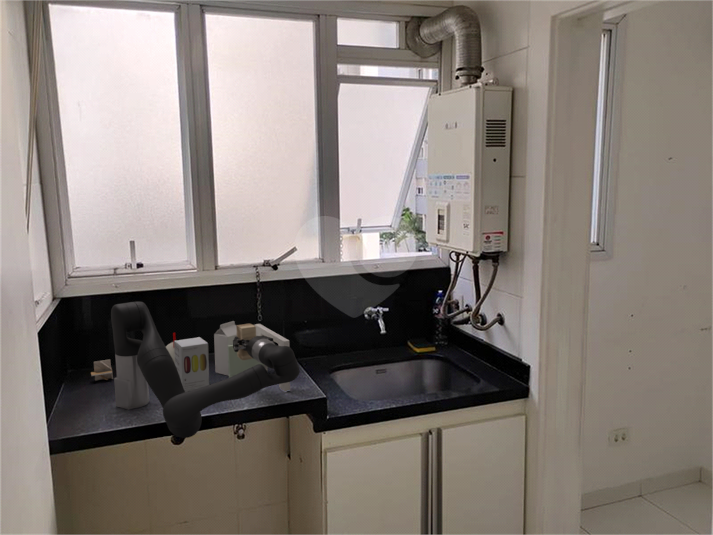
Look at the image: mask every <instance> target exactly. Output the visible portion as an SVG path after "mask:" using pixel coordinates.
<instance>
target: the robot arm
mask: <svg viewBox="0 0 713 535" xmlns="http://www.w3.org/2000/svg"><path fill="white" fill-rule="evenodd" d="M110 319H111V327H112V337H113V345H114V356H115V370H116V371H115V372H116V377H113V380H114V381H113V383H114V397H115V407H118V408H121V409H125V410H132V409H137V408H141V407H144V406H146V405H148V404H149V403H150V393H149V392H150V390H151V391H152V392H153V394H154V395H155V397H156V398H157V400H158V401H159V403H160V405H161V408H162V416H163V418H164V421H165V423H166V425H167V428H168V430H169V431H170V432H171V433H172V434H173V436H176V437H177V438H181V439H188V438H191V437H193V436H196V434H197V433H198V432H199V430H200V428H201V426H202V421H203V420H202V418H203V417H202V413H201V412H202V411H203V410H205V409H206V408H208V407H211V406H213V405H215V404H218V403H222V402H227V401H234V400H235V401H236V400H241V399H244V398H247V397H249V396H252V395H254V394H256V393H257V392H260V391H262V390H264V389H266V388H269V387H273V386H276V385H279V384H282V383H287V382H290V383H291V382H293V381H295V380H296V379H297V378H298V377H299V375H300V372H301V369H300V367H299V363H298V360H297V358H296V356H295V353H294V351H293V350H294V349H292V347H290V345H289V346H278V345H277V344H275V342H274V341H273V338H270V337H267V336H264V335H263V336H256V337H254V338H252V339H245V338H244V339H240V338H239V337H235V338H234V340H233V349H234V351H235V352H238V351H239V350H240V349H243V350H244V351H247V352H248V354H249V355H250V356H251V357H252V358H254V359H255V360H256V361H258V362H260V363H262V364H264V365H265V366H267V367H268V368H269V369H272V370H273V371H274V372H273V373H269V372H267V370H266V369H265V367H264V366H263V365H261V364H258V365H255V366H253V367H251V368H249V369H247V370H245V371H243V372H241V373H239V374H237V375H234V376H232V377H230V378H229V377H228V378H225V379H222V380H219V381H217V382H213V383H211V384H210V383H209V385H207V386H204V387H201V388H198V389H194V390H191V391H188V392H185V390H184V388H183V385H182V382H181V379H180V376H179V373H178V370H177V368H176V365H175V363H174V361H173V359H172V357H171V355H170V353H169V351H168V350H167V348H166V346H167V345H165V342H164V341H163V340H162V337H161V335H160V333H159V332H158V330H157V326H156V325H155V322H154V319H153V317H152V315H151V313H150V310H149V308H148V306H147V305H146V303H145V302H143V301H130V302H123V303H117V304H114V305H112V308H111V310H110ZM136 331H140V332H142V334H143V336H142V339H136V338H132V337H128V334H127V333H131V332H136ZM149 388H150V390H149Z"/></svg>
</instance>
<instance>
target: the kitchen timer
mask: <svg viewBox="0 0 713 535" xmlns="http://www.w3.org/2000/svg"><path fill="white" fill-rule="evenodd" d="M172 339H173V340H172V341H171V342H170V343H168V344H167V345H165V346H166V348H167V350H168V351H169V353H170V355H171V357H172V359H173V361H174V363H175V350H174V341H176V340H177V338H176V332H173V333H172Z"/></svg>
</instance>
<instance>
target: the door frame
mask: <svg viewBox="0 0 713 535" xmlns="http://www.w3.org/2000/svg"><path fill="white" fill-rule="evenodd" d="M254 326H256V336H263V335H264V336H267V337H270V338H273V343H277V344H278V345H277V346H289V347H290V340H289V339H287V338H286V337H284V336H282V335H280V334H279V333H276V332H275V331H273V330H271V329H270V328H268V327H266V326H264V325H263V324H261V323H256V324H255V323H254ZM279 387H280V388H281V389H282V390H284V391H287V390H290V391H291V382H287V383H282V384H278V388H279ZM280 388H279V389H280ZM281 389H280V390H281ZM282 390H281V391H282ZM284 391H283V392H284Z"/></svg>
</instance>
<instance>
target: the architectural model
mask: <svg viewBox="0 0 713 535" xmlns="http://www.w3.org/2000/svg"><path fill="white" fill-rule="evenodd" d="M111 364H112V363H111V359H105V360H97V361H93V369H94V370H93V371H91V372H90V375H91V377H94V380H95V381H101V380H106V381H108V380H109V379H111V380H114V377H113V368H112V365H111Z"/></svg>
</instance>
